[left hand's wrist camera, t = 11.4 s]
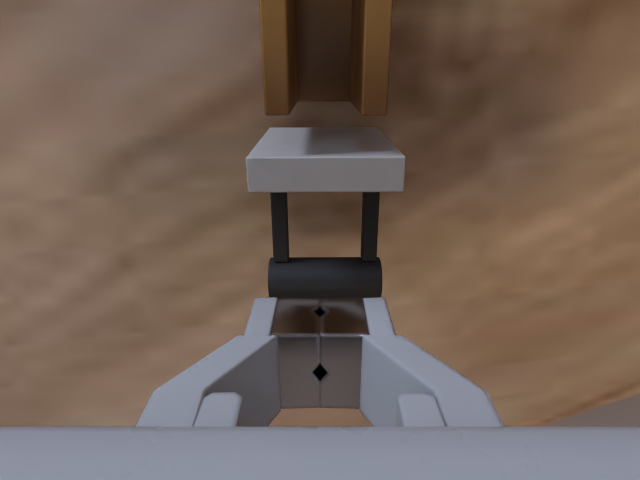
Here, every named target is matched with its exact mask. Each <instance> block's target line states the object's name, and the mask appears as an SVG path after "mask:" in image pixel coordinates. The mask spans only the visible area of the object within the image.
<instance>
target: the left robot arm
mask: <svg viewBox="0 0 640 480" xmlns="http://www.w3.org/2000/svg"><path fill="white" fill-rule="evenodd" d="M285 408H355V409H359V410H360V412H361V413H362V414H363V415H364V417H365V418H366V419H367V420H368V421H369V423H370V424H371V425H372V426H373V427H268V425H269V424H270V423H271V422H272V421H273V419H274V418H275V417H276V416H277V415H278V413H279V412H280V411H281V409H285ZM0 480H640V427H505V426H504V424H503V423H502V421H501V419H500V417H499V415H498V413H497V411H496V409H495V407H494V405H493V403H492V401H491V399H490V397H489V395H488V393H487V391H485V390H484V389H482V388H481V387H479V386H478V385H476V384H475V383H473V382H472V381H470V380H469V379H467V378H466V377H464V376H463V375H461V374H460V373H458V372H457V371H455V370H454V369H452V368H451V367H449V366H448V365H446V364H444V363H443V362H441V361H440V360H438V359H437V358H435V357H434V356H432V355H431V354H429V353H428V352H426V351H425V350H423V349H422V348H420V347H419V346H417V345H416V344H414V343H413V342H411V341H410V340H408V339H407V338H405V337H404V336H402V335H396V334H395V330H394V327H393V323H392V320H391V317H390V313H389V310H388V306H387V303H386V299H385V298H384V297H376V298H328V299H320V298H278V299H277V297H266V298H255V300H254V302H253V306H252V309H251V313H250V316H249V320H248V323H247V327H246V330H245V334H244V335H238V336H236V337H235V338H233V339H232V340H230V341H229V342H227V343H226V344H224V345H223V346H221V347H220V348H218V349H217V350H215V351H214V352H212V353H211V354H209V355H207V356H206V357H204V358H203V359H201V360H200V361H198V362H197V363H195V364H194V365H192V366H191V367H189V368H188V369H186V370H185V371H183V372H182V373H180V374H179V375H177V376H176V377H174V378H173V379H171V380H169V381H168V382H166V383H165V384H163V385H162V386H160V387H159V388H157V389H156V390H154V392H153V394H152V396H151V398H150V399H149V401H148V403H147V405H146V407H145V409H144V411H143V413H142V415H141V417H140V419H139V421H138V423H137V425H136V426H135V427H42V426H40V427H0Z"/></svg>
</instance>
